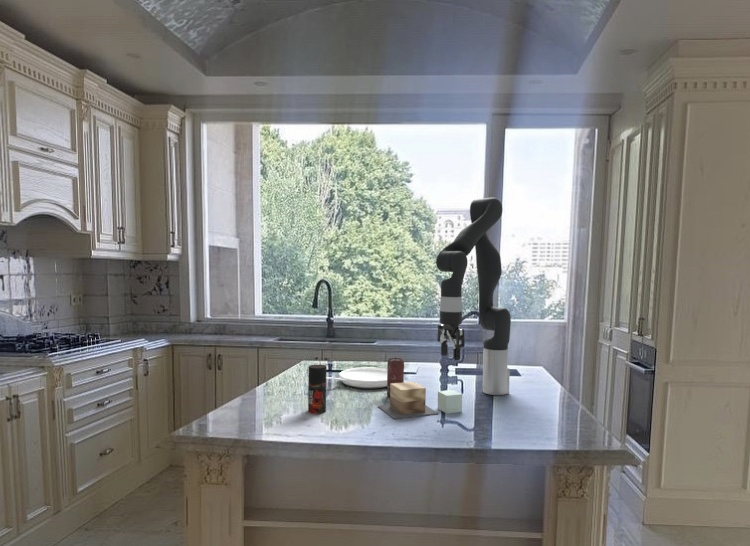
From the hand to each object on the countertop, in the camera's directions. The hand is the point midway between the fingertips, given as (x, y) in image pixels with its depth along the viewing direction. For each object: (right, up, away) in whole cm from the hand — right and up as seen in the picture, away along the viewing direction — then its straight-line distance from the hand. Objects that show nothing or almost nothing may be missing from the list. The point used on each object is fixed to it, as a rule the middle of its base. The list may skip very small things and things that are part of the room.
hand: (450, 357), depth 162 cm
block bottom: (-15, -17, -1) cm, 23 cm away
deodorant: (-45, -18, -3) cm, 48 cm away
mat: (-15, -18, -1) cm, 23 cm away
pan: (-33, -17, +33) cm, 50 cm away
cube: (0, -18, 0) cm, 18 cm away
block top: (-15, -13, -1) cm, 20 cm away
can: (-18, -18, +16) cm, 30 cm away
